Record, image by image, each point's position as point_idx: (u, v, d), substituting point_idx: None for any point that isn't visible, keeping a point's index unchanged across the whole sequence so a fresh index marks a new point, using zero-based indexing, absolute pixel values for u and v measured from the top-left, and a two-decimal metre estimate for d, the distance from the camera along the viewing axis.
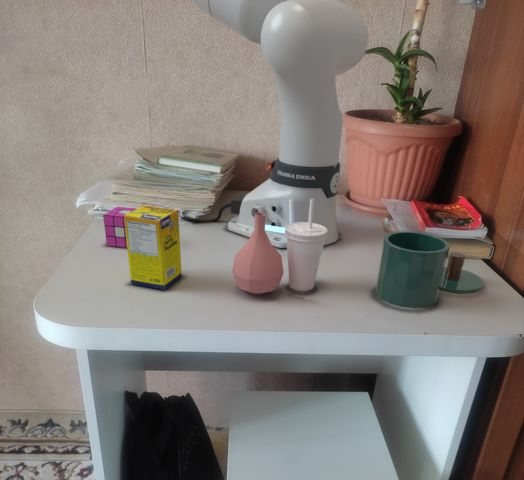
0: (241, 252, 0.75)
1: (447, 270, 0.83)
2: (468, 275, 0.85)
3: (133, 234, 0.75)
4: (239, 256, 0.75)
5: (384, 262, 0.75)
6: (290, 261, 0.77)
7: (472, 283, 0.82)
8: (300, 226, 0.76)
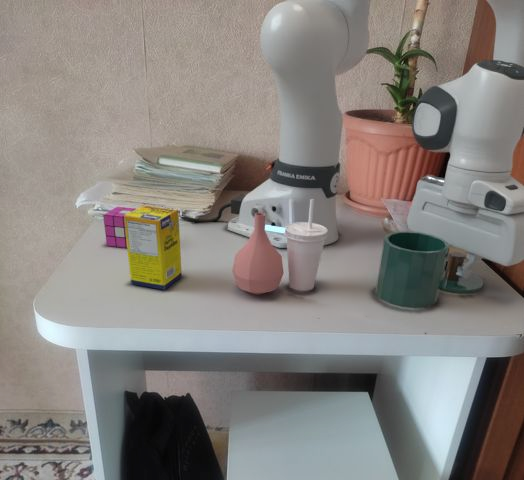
0: (241, 252, 0.75)
1: (447, 270, 0.83)
2: None
3: (133, 234, 0.75)
4: (239, 256, 0.75)
5: (384, 262, 0.75)
6: (290, 261, 0.77)
7: (472, 283, 0.82)
8: (300, 226, 0.76)
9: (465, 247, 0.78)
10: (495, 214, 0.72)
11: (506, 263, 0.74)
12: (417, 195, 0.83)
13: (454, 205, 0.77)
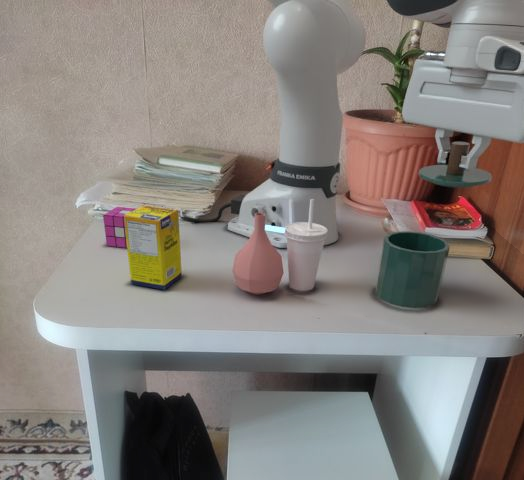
0: (241, 252, 0.75)
1: (449, 163, 0.72)
2: (474, 170, 0.74)
3: (133, 234, 0.75)
4: (239, 256, 0.75)
5: (384, 262, 0.75)
6: (290, 261, 0.77)
7: (479, 176, 0.71)
8: (300, 226, 0.76)
9: (471, 128, 0.67)
10: (507, 77, 0.61)
11: (520, 138, 0.62)
12: (414, 76, 0.72)
13: (458, 75, 0.65)
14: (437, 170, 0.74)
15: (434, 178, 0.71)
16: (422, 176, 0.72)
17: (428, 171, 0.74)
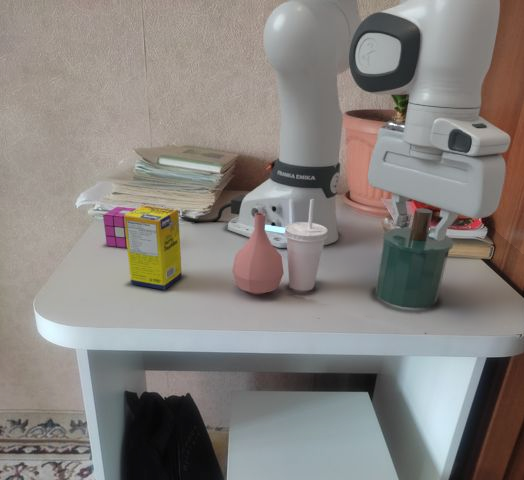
0: (241, 252, 0.75)
1: (412, 229, 0.73)
2: None
3: (133, 234, 0.75)
4: (239, 256, 0.75)
5: (384, 262, 0.75)
6: (290, 261, 0.77)
7: (440, 243, 0.73)
8: (300, 226, 0.76)
9: (430, 200, 0.69)
10: (460, 157, 0.62)
11: (474, 215, 0.64)
12: (377, 144, 0.74)
13: (416, 151, 0.67)
14: (401, 234, 0.76)
15: (396, 243, 0.72)
16: (386, 240, 0.74)
17: (392, 234, 0.75)
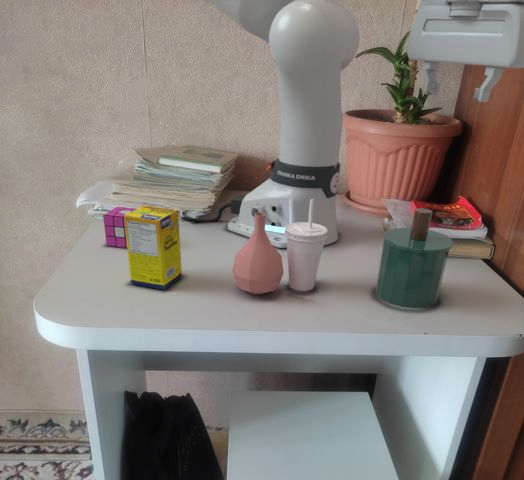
0: (241, 252, 0.75)
1: (412, 229, 0.73)
2: (437, 236, 0.76)
3: (133, 234, 0.75)
4: (239, 256, 0.75)
5: (384, 262, 0.75)
6: (290, 261, 0.77)
7: (440, 243, 0.73)
8: (300, 226, 0.76)
9: (467, 58, 0.74)
10: (499, 6, 0.68)
11: (510, 63, 0.69)
12: (418, 15, 0.79)
13: (456, 9, 0.72)
14: (401, 234, 0.76)
15: (396, 243, 0.72)
16: (386, 240, 0.74)
17: (392, 234, 0.75)
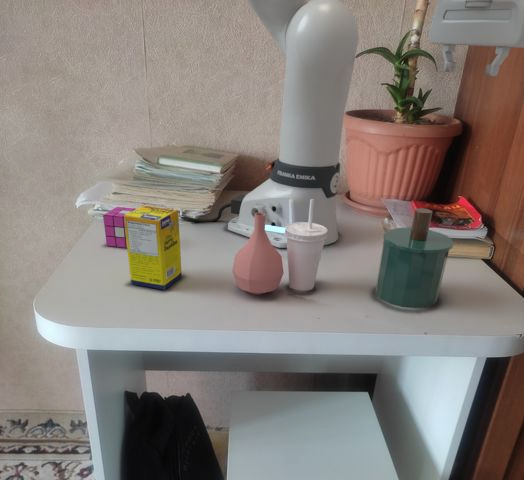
0: (241, 252, 0.75)
1: (412, 229, 0.73)
2: (437, 236, 0.76)
3: (133, 234, 0.75)
4: (239, 256, 0.75)
5: (384, 262, 0.75)
6: (290, 261, 0.77)
7: (440, 243, 0.73)
8: (300, 226, 0.76)
9: (480, 40, 0.92)
10: None
11: (516, 43, 0.88)
12: (438, 6, 0.97)
13: (471, 1, 0.91)
14: (401, 234, 0.76)
15: (396, 243, 0.72)
16: (386, 240, 0.74)
17: (392, 234, 0.75)
